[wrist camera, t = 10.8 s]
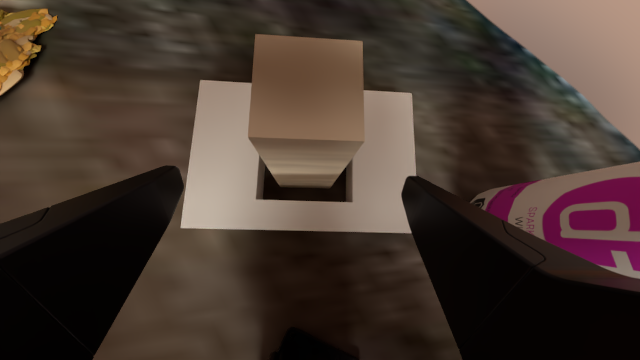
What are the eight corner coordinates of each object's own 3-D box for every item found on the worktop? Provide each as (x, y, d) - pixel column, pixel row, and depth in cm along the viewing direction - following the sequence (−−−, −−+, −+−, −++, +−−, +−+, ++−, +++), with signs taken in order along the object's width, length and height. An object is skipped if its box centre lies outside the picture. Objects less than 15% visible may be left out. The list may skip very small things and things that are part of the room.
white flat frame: (403, 231, 21) (421, 233, 18) (198, 227, 20) (178, 227, 17) (397, 109, 23) (413, 91, 20) (214, 99, 22) (198, 77, 19)
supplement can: (454, 272, 21) (824, 393, 6) (458, 182, 22) (760, 104, 8) (540, 286, 21) (1096, 435, 6) (539, 197, 23) (979, 148, 8)
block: (329, 188, 21) (364, 141, 9) (280, 187, 21) (247, 136, 9) (329, 141, 22) (362, 41, 10) (282, 140, 22) (255, 34, 10)
